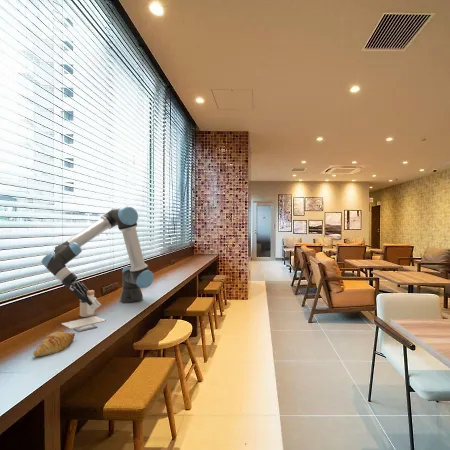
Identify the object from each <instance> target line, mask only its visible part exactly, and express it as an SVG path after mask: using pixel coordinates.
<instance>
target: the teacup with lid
mask: <svg viewBox="0 0 450 450" xmlns="http://www.w3.org/2000/svg"><path fill="white" fill-rule="evenodd" d="M94 298H95V299H96V300H97V297H95V296H94ZM97 301H98V300H97ZM78 302H79V316H80V318H81V317H82V318H88V317H93V316H96V315H97V309H96V310H94V314H87V303H86V302H85V303H83V302H84V301H83V302H82V301H81V300H80V299H79V301H78Z"/></svg>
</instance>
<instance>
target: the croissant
mask: <svg viewBox="0 0 450 450" xmlns="http://www.w3.org/2000/svg"><path fill="white" fill-rule="evenodd" d="M75 335H76V334H75V333H74V332H65V331H54V332H51V333H50V334H48V335H47V336H45V338H44V340H42V342H41V343H40V345H38V346H37V347H36V349H35V350H34V351H33V357H38V358H39V357H42V356H47V355H51V354H52V355H53V354H55V353H58V352H62V351H63V350H65V349H66V348H67V347H69V345H70V344H71V343H72V342H73V341H74V339H75Z"/></svg>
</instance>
